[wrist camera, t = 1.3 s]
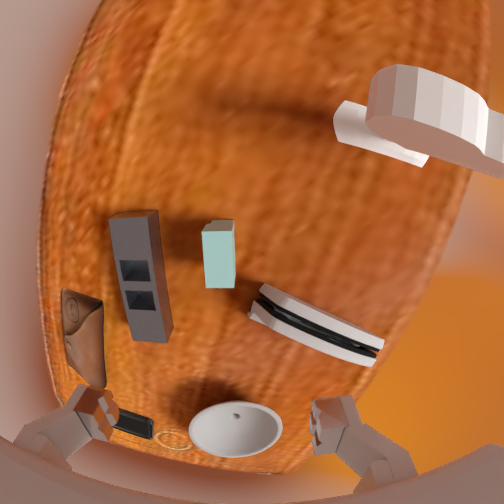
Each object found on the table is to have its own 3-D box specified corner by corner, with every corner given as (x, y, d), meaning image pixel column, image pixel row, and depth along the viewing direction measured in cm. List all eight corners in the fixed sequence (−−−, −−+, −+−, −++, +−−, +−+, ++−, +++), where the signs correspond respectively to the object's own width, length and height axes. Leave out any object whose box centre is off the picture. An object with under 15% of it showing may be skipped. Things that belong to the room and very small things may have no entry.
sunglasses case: (58, 283, 35) (55, 310, 30) (101, 285, 39) (104, 311, 34) (69, 367, 41) (71, 394, 36) (103, 366, 45) (109, 393, 40)
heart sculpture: (439, 135, 28) (548, 142, 11) (433, 171, 30) (541, 200, 13) (328, 95, 27) (406, 43, 10) (321, 137, 29) (399, 123, 12)
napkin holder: (244, 313, 36) (257, 338, 26) (260, 280, 36) (279, 294, 27) (345, 355, 39) (381, 382, 29) (360, 326, 39) (400, 347, 29)
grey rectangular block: (121, 211, 32) (108, 218, 28) (157, 209, 32) (147, 216, 28) (141, 325, 37) (133, 340, 34) (173, 327, 37) (167, 343, 34)
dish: (252, 443, 47) (252, 463, 42) (181, 424, 45) (177, 444, 40) (298, 392, 41) (302, 415, 37) (212, 366, 39) (208, 390, 35)
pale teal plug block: (210, 217, 32) (201, 231, 26) (235, 216, 32) (231, 231, 26) (213, 265, 34) (205, 287, 28) (237, 265, 34) (233, 287, 28)
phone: (152, 440, 47) (87, 417, 45) (153, 436, 48) (89, 413, 46) (152, 422, 44) (82, 396, 43) (154, 417, 45) (84, 392, 44)
